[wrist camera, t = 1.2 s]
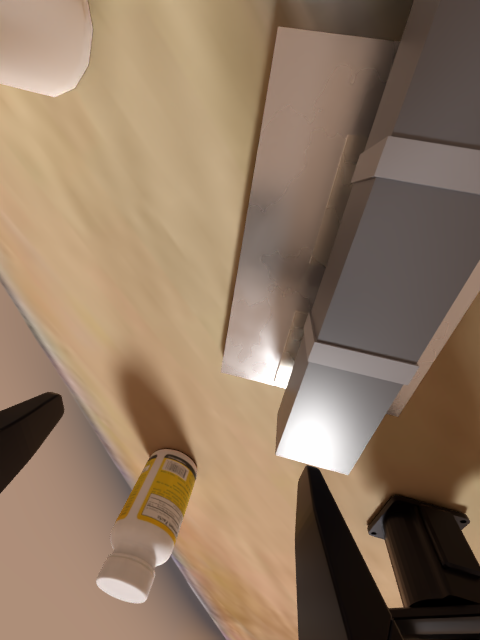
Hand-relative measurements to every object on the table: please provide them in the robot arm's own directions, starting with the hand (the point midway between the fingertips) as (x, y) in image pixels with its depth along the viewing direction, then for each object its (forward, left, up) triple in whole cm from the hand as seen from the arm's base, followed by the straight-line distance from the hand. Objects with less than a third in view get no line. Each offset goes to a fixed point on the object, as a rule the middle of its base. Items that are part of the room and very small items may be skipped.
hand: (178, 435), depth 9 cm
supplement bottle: (-19, +4, -10) cm, 22 cm away
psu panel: (+5, -6, -10) cm, 13 cm away
